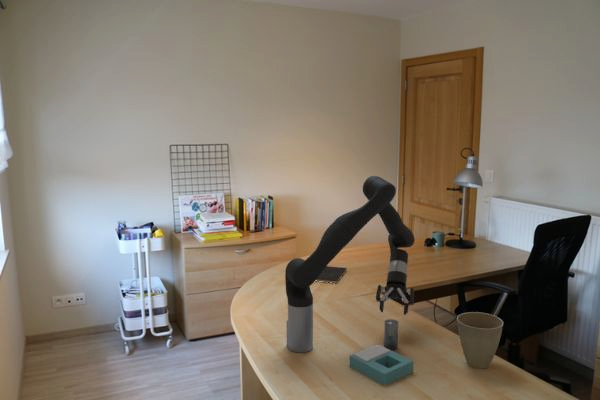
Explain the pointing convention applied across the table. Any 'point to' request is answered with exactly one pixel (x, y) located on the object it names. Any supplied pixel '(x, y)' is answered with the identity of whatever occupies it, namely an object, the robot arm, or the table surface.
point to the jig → (381, 364)
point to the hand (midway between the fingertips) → (393, 312)
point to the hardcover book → (331, 274)
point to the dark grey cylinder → (391, 334)
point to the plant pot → (479, 337)
